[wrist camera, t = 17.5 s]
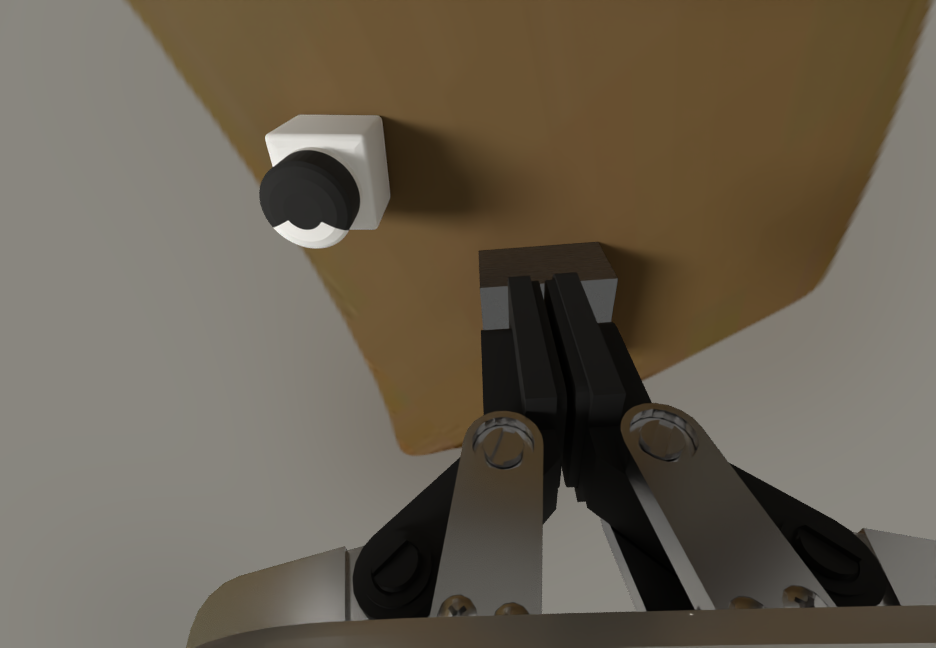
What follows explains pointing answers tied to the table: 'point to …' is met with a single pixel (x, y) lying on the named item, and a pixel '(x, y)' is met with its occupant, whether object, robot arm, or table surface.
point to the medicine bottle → (325, 178)
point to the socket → (545, 277)
